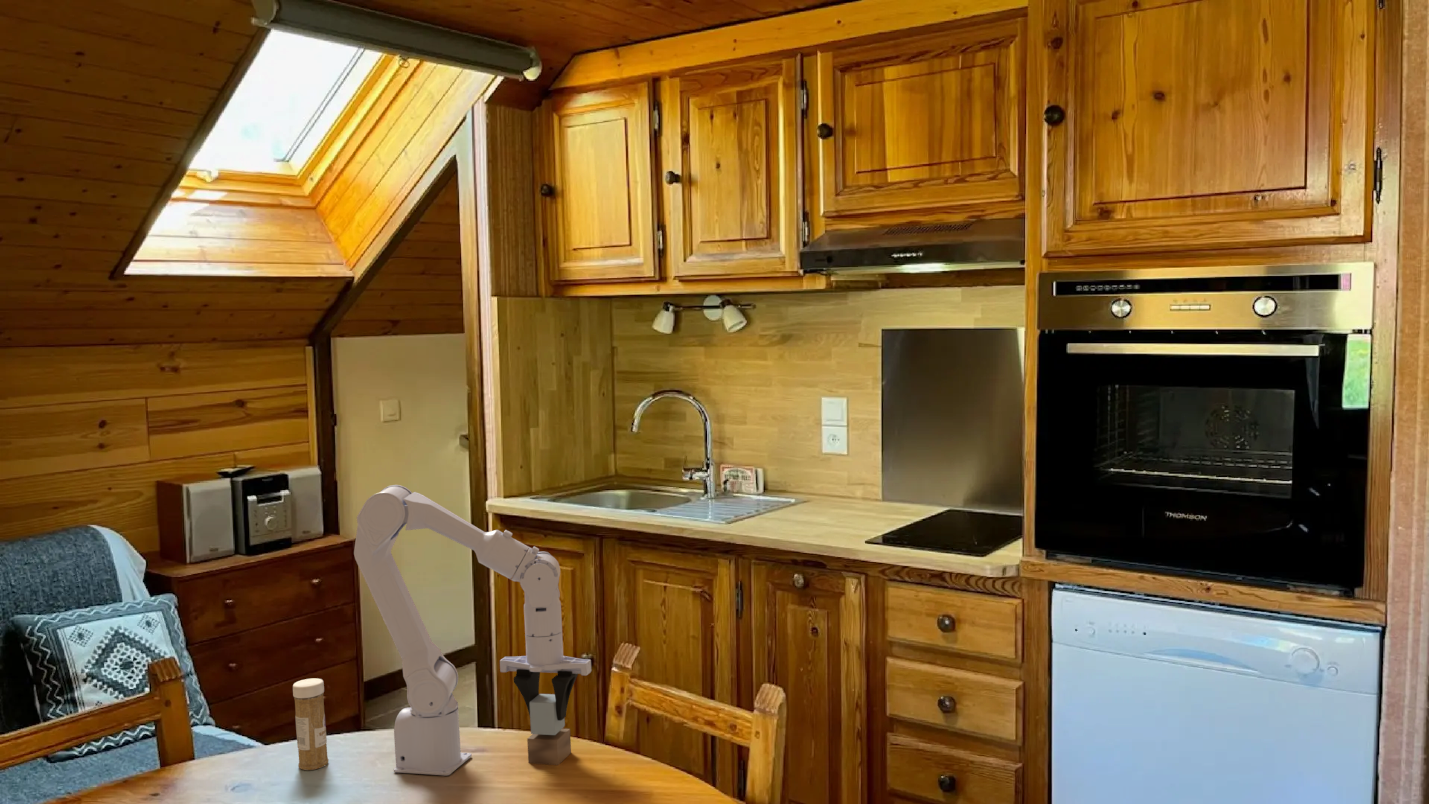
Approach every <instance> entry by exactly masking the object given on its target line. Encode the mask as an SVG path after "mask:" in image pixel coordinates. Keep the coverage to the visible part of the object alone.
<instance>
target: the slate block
mask: <svg viewBox="0 0 1429 804" xmlns="http://www.w3.org/2000/svg"><path fill="white" fill-rule="evenodd" d="M529 703H530V715H529V718H530V719H529V721H530V723H529V724H530V735H532V734H542V735H556V734H557V733H558V732H559V731H560V730H561V729H564V728H565V726H566V723H565V722H566V720H565V719H566V717H565V718H564V719H563V720H561V721H560V720H557V714H556V699H555V693H552V694H551V693H539V695H538V696H537V697H535V698H534V699H533V700H532V701H530V702H529Z"/></svg>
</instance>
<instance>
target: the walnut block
mask: <svg viewBox="0 0 1429 804" xmlns="http://www.w3.org/2000/svg"><path fill="white" fill-rule="evenodd" d="M526 739H527V740H526V741H527V755H528V756H527V757H528V758H527V760H528V764H536V765H539V764H540V765H551V766H552V765H553V766H559V765H560V764H561V763H562V762H563V761H565V759H566V758H567V757H569V755H571V753H572V746H571V745H572V743H571V740H572V739H571V728H562V729H561V730H560V731H559V732H558V733H557V734H556V735H542V734H530V736H528V738H526Z"/></svg>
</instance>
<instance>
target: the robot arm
mask: <svg viewBox="0 0 1429 804" xmlns="http://www.w3.org/2000/svg"><path fill="white" fill-rule="evenodd" d="M356 523H357V527H356V535H355V544H354V550H353V555H354V560H355V561H356V564H357V566H358V568H359V570H360V572H361V575H362V577H363V579H364V581H365V584H366V585H367V587H368V589H369V591H370V595H371V597H372V598H373V600H374V602H375V605H376V607H377V608H378V611H379V613H380V615H381V617H382V620H383V622H384V624H385V626H386V628H387V630H388V633H389V634H390V637H391V639H392V641H393V643H394V645H395V648H396V650H397V652H398V654H399V656H400V658H401V661H402V662H401V663H402V664H401V665H402V666H401V667H402V677H403V679H404V681H405V684H406V689H407V690H406V691H407V692H406V699H407V703H408V705H409V706H410V707H404V708H402V709H401V710H400V711H399V713H398V714H397V716H396V718H395V722H394V728H393V738H394V739H393V740H394V754H395V767H394V768H393V772H394V773H401V774H402V773H403V774H417V775H418V774H419V775H433V776H450V775H452V774H453V772H455V771H456V770H457V769H458V768H459V767H461V766H462V765H463V764H464V763H466V762H467V761H468V760H469V759H471V757H472V754H473V753H471V752H462V750H461V736H460V735H461V734H460V733H461V731H460V717H459V716H460V715H459V703H458V700H456V698H455V696H454V694H453V692H454V691H455V689H456V687H457V686H458V682H459V674H458V670H457V668H456V667H455V665H454V664H453V663H451V661H449V660H448V659H447V658H446V657H445V656H444V654H443V653H442V650H441V649H440V647H439V646H437V644H435V643H434V642H433V641H432V638H431V636H430V634H429V632H428V630H427V628H426V626H425V623H424V621H423V619H422V617H421V615H420V613H419V610H418V609H417V606H416V605H415V602H414V600H413V597H412V595H411V593H410V591H409V589H408V587H407V585H406V581H405V579H403V576H402V574H401V572H400V570H399V567H398V565H397V562H396V561H395V559H394V556H393V554H392V550H393V547H394V546H395V543H396V542H397V539H398V536H399V533H400V532H401V531H402V529H403V528H404V527H405V531H413V530H416V531H417V530H422V529H429V530H431V531H433V532H434V533H436V534H439V535H441V536H443V537H445V538H447V539H449V540H451V541H454V542H455V543H458V544H460V545H462V546H464V547H466V548H468V549H470V550H471V551H474V553H475V555H476V558H477V562H478V563H479V564H481V565H483V566H485V567H486V568H488V569H490V570H492V571H493V572H496V573H498V574H500V575H501V576H503V577H505V578H507V579H509V580H511V581H512V582H518V583H519V585H520V587H521V589H522V590H523V592H524V604H523V615H524V633H525V634H524V636H525V655H521V656H520V655H519V656H518V655H517V656H516V655H515V656H504V657H503V658H501V659H500V660H499V669H500V670H499V671H500V673H507V672H516V673H515V676H514V677H513V683H514V685H515V686H516V687H517V689H518V691H519V692H520V694H521V696H522V698H523V699H524V702H525V705H526V708H527V711H528V715H529V716H530V703H529V702H530V701H532V700H533V699H534V698H535V697H537V696H538V695H539V694H540V693H539V691H540V689H539V688H540V676H541V673H548V674H549V673H550V674H552V673H553V674H554V673H555V674H557V675H555V676H553V677H551V684H552V688H553V692H554V693H553V694H555V699H556V714H557V720H560V721H561V720H563V719H564V718H565V719H566V716H567V709H568V705H569V703H568V702H569V699H570V695H571V693H572V689H573V686H574V685H575V683H576V680H577V677H578V675H580V676H588V675H589V674H591V672H592V660H591V659H586V658H585V659H584V658H578V657H573V656H566V655H564V642H563V619H562V603H561V600H560V597H561V592H560V587H559V582H560V575H561V567H560V563H559V561H558V560H557V559H556V558H555V556H553V555H552V554H551V553H549V552H548V551H540V548H538V547H536V546H535V545H534V546H533V547H530V546H529V545H526V544H524V543H523V542H522V541H519V540H517V539H516V538H513V537H512V536H513V532H511V531H509V530H507V529H505V530H504V531H503V532H502V531H501V530H499V529H495V530H490V531H484V530H482V529H481V528H478V527H477V526H475V525H474V524H472V523H470V522H469V521H467V520H465V519H464V518H462V517H461V516H459V515H457V514H455V513H453V512H452V511H450V510H449V509H447V508H446V507H444V506H442V505H441V504H439V503H437V502H436V501H434V500H432V499H430V498H429V497H427V496H425V495H423V494H422V493H419V492H417V491H414V492H412V491H411V490H410V489H409V488H408V487H405V486H404V485H400V484H392V485H388V486H386V487H384V488H383V489H382V490H380V491H379V492H377V493H373V494H372V495H371V496H370V497H368V498H367V499H366V500H365V502H364V504H363V505H362V508H361V509H360V511H359V513H358V514H357V516H356Z"/></svg>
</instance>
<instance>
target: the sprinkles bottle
mask: <svg viewBox="0 0 1429 804" xmlns="http://www.w3.org/2000/svg"><path fill="white" fill-rule="evenodd" d="M324 685H325V684H324V680H323V679H322V678H318V677H317V678H306V679H301V680H298V681H296V682H294V683H293V685H292V696H293V699H294V709H295V715H294V716H295V717H294V718H295V730H296V745H297V750H298V769H300V770H304V771H313V770H318V769H321V768H323V767H325V766H327V765H328V764H329V758H328V746H327V742H328V741H327V739H328V738H327V727H326V726H327V725H326V714H325V705H324V692H325V686H324Z"/></svg>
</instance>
